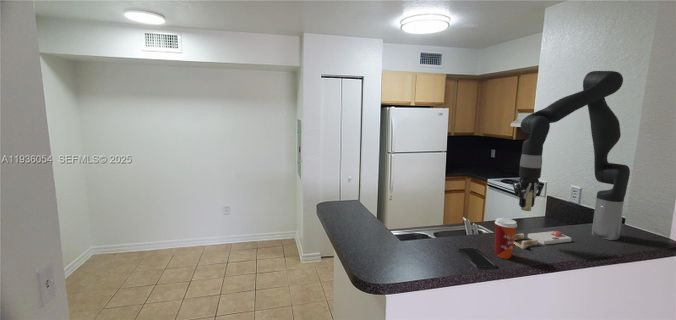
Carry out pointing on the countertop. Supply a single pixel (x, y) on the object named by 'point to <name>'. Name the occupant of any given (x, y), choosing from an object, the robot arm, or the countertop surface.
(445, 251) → the countertop surface
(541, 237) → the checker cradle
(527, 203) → the cell
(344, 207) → the countertop surface
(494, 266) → the phone
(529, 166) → the robot arm
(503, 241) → the paper cup
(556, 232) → the button
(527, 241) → the beige channel block
